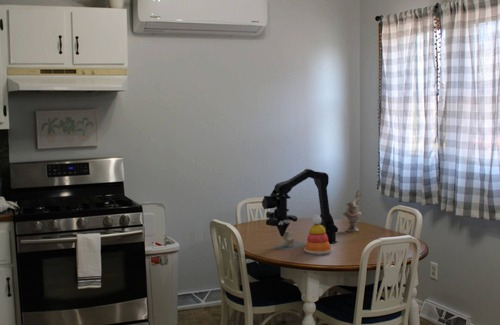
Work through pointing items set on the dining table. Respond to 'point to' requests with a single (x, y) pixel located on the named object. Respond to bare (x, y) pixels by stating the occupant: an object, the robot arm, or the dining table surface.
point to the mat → (296, 244)
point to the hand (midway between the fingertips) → (281, 236)
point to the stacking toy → (317, 238)
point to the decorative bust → (352, 213)
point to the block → (288, 239)
